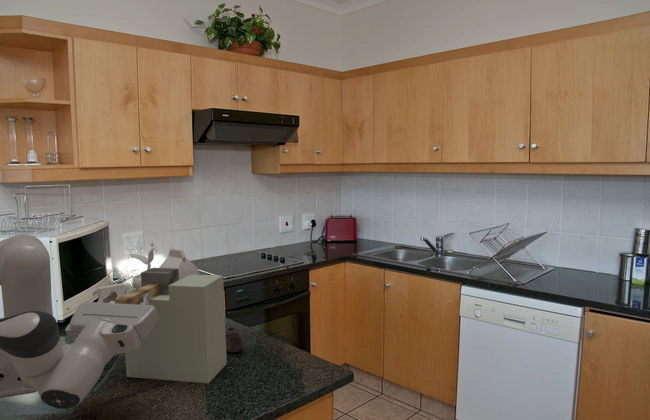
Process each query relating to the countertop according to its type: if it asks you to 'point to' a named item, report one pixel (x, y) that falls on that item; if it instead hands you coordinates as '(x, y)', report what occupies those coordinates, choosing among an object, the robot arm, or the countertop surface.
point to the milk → (180, 263)
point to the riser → (184, 334)
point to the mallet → (151, 285)
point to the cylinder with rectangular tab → (106, 289)
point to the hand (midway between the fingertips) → (130, 293)
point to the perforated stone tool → (232, 339)
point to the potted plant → (146, 261)
